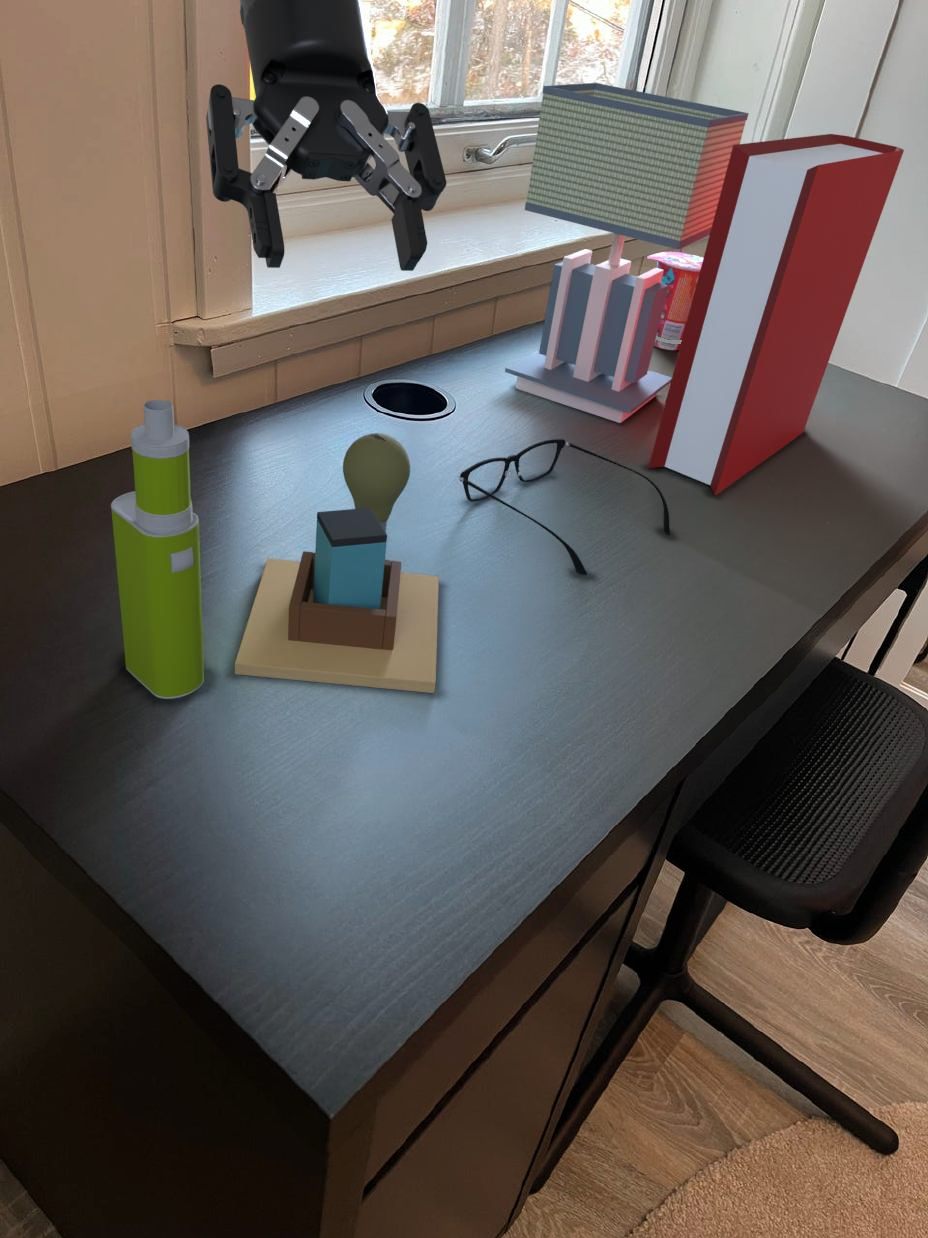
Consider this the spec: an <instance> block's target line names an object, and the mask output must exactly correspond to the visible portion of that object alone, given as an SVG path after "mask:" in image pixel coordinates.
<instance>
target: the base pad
mask: <svg viewBox="0 0 928 1238" xmlns="http://www.w3.org/2000/svg"><path fill="white" fill-rule="evenodd" d="M263 568H264V569H263V572H262V575H261V578H260V581H259V584H258V588H257V590H256V593H255V597H254V600H253V604H252V607H251V610H250V613H249V616H248V618H247V619H248V620H247V622H246V625H245V628H244V632H243V636H242V639H241V642H240V645H239V648H238V651H237V655H236V658H235V661H234V674H235V675H239V676H249V677H260V678H270V679H280V680H292V681H302V682H310V683H311V682H313V683H322V684H323V683H324V684H333V685H343V686H353V687H354V686H355V687H363V688H364V687H366V688H375V689H376V688H377V689H385V690H386V689H387V690H395V691H397V690H398V691H408V692H418V693H428V694H434V693H435V691H436V684H437V660H438V659H437V657H438V656H437V653H438V621H439V618H438V617H439V590H440V589H439V588H440V587H439V586H440V576H438V575H431V574H421V573H411V572H403V571H402V561H400V560H399V561H398V560H389V559H385V564H384V574H383V585H382V595H381V606H380V609H370V608H360V607H350V606H340V605H331V604H321V603H313V594H314V572H315V552H314V551H306V550H305V551H302V554H301V558H300V561H299V560H298V561H297V560H288V559H280V558H279V559H278V558H268V557H267V559H266V562H265V565H264V567H263Z"/></svg>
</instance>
